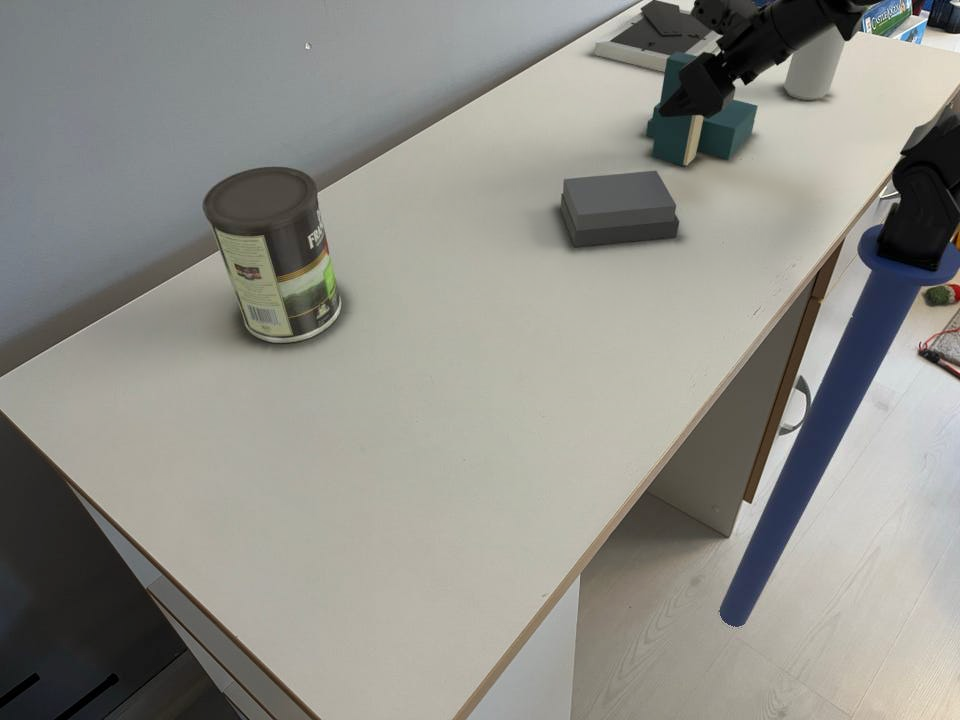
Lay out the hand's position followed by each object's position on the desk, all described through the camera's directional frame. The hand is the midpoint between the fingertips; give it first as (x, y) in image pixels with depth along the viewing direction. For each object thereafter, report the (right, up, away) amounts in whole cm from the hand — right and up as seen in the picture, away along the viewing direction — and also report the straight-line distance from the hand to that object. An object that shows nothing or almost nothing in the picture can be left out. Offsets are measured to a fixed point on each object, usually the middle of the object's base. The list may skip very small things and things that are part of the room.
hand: (676, 99), depth 90 cm
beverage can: (+24, +7, +18) cm, 31 cm away
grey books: (-8, -16, -5) cm, 19 cm away
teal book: (+1, -6, +5) cm, 8 cm away
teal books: (+6, -2, +9) cm, 11 cm away
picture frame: (+7, +21, +32) cm, 39 cm away
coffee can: (-45, -28, -14) cm, 54 cm away
